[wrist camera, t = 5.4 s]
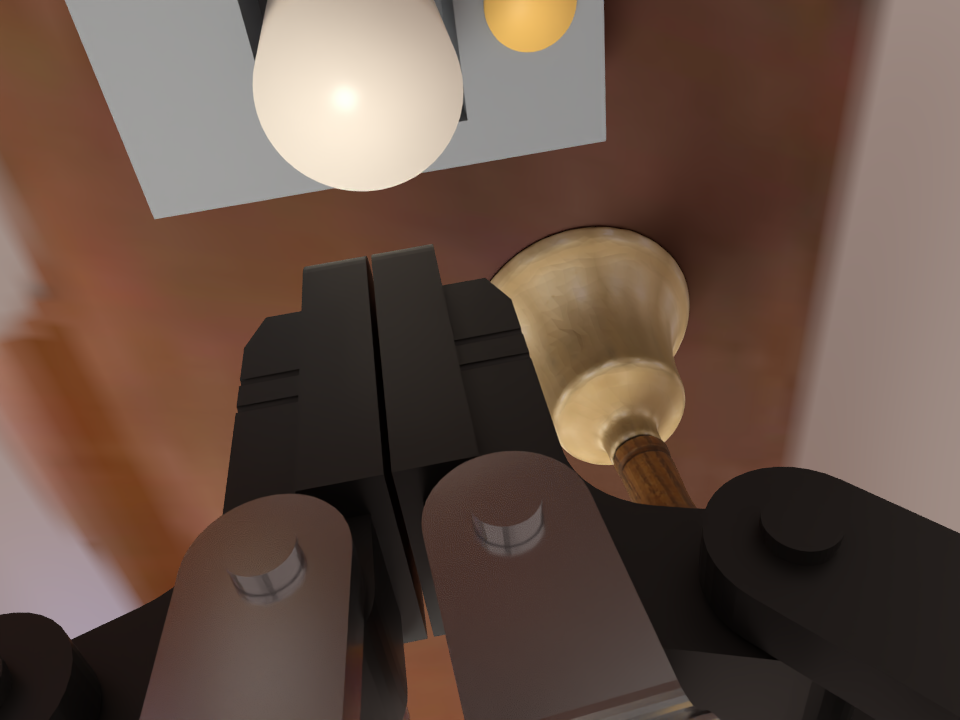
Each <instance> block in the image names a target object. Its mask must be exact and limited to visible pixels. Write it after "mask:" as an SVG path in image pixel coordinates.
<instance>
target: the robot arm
mask: <svg viewBox="0 0 960 720" xmlns="http://www.w3.org/2000/svg"><path fill="white" fill-rule="evenodd" d="M372 269H373V276H372V272H371V268H370V265H369V261H368V258H367V256H364V257H359V258H353V259H347V260H342V261H336V262H330V263H325V264H319V265H313V266H308V267H304V269H303V286H302V311H300V312H295V313H289V314H284V315H278V316H273V317H267V318H265V320H264V321H263V323H262V324H261V325H260V327H259V328H258V330H257V331H256V332H255V334H254V335H253V337H252V338H251V339H250V341H249V342H248V344H247V345H246V346H245V348H244V354H243V361H242V369H241V377H240V381H241V386H239V392H238V400H237V409H238V413H236V416H235V423H234V431H233V439H232V447H231V454H230V462H229V470H228V478H227V485H226V493H225V501H224V509H223V515H222V516H220V517H219V518H218V519H217V520H215V521H214V522H213V523H211V524H210V525H209V526H208V527H207V528H206V529H205V530H204V531H203V532H202V533H201V534H200V535H199V536H198V537H197V538H196V540H195V541H194V542H193V543H192V545H191V546H190V547H189V549H188V551H187V553H186V554H185V556H184V558H183V560H182V563H181V566H180V568H179V571H178V575H177V578H176V582H175V586H174V587H173V588H172V589H170V590H169V591H167V592H166V593H164V594H163V595H161V596H160V597H158V598H157V599H155V600H153V601H151V602H149V603H147V604H145V605H143V606H142V607H140V608H137V609H135V610H133V611H131V612H129V613H127V614H125V615H123V616H120V617H118V618H116V619H114V620H112V621H110V622H108V623H106V624H103V625H101V626H99V627H97V628H95V629H93V630H91V631H89V632H86V633H85V634H82V635H80V636H78V637H76V638H74V639H72V640H71V639H70V638H69V637H68V635H67V634H66V633H65V631H64V630H63V629H62V627H61V626H59V625H58V624H57V623H56V622H54V621H53V620H51V619H49V618H47V617H44V616H42V615H38V614H33V613H9V614H2V615H0V720H410V716H409V711H408V708H407V679H406V668H405V657H404V646H403V643H408V642H413V641H418V640H422V639H427V630H426V621H425V613H424V604H423V596H422V591H423V595H424V599H425V603H426V607H427V611H428V615H429V619H430V622H431V626H432V630H433V634H434V637H435V636H440V635H446V639H447V644H448V648H449V653H450V657H451V661H452V666H453V670H454V675H455V679H456V683H457V688H458V692H459V697H460V701H461V705H462V710H463V714H464V719H465V720H960V533H958V532H956V531H953V530H951V529H949V528H947V527H944V526H942V525H940V524H938V523H936V522H933V521H931V520H929V519H927V518H925V517H922V516H920V515H918V514H916V513H914V512H911V511H909V510H907V509H905V508H902V507H900V506H898V505H896V504H894V503H891V502H889V501H887V500H885V499H883V498H880V497H878V496H876V495H874V494H871V493H869V492H867V491H865V490H863V489H860V488H858V487H856V486H854V485H852V484H849V483H847V482H845V481H843V480H841V479H838V478H835V477H833V476H830V475H828V474H825V473H821V472H817V471H813V470H809V469H802V468H795V467H771V468H762V469H758V470H754V471H750V472H747V473H744V474H742V475H739V476H737V477H735V478H733V479H731V480H730V481H728V482H727V483H725V484H724V485H723V486H722V487H720V488H719V489H718V490H717V491H716V492H715V493H714V495H713V496H712V498H711V499H710V501H709V502H708V504H707V507H706V509H697V508H683V507H669V506H655V505H647V504H639V503H634V502H630V501H626V500H622V499H619V498H616V497H614V496H611V495H608V494H606V493H604V492H602V491H601V490H599V489H597V488H595V487H593V486H592V485H591V484H589V483H588V482H586V481H585V480H584V479H582V478H581V477H580V476H579V475H578V474H577V473H576V472H575V471H574V469H573V468H572V467H571V465H570V464H569V462H568V461H567V459H566V457H565V455H564V453H563V450H562V447H561V444H560V441H559V439H558V436H557V433H556V430H555V427H554V424H553V421H552V418H551V415H550V412H549V409H548V406H547V403H546V400H545V397H544V394H543V391H542V388H541V385H540V382H539V379H538V376H537V373H536V371H535V368H534V365H533V362H532V359H531V358H530V354H529V350H528V347H527V344H526V341H525V338H524V335H523V334H522V331H521V326H520V323H519V320H518V317H517V314H516V311H515V308H514V305H513V302H512V300H511V298H509V297H508V296H507V295H506V294H504V293H503V292H502V291H501V290H499V289H498V288H497V287H496V286H495V285H493V284H492V283H491V282H490V281H488V280H487V279H486V278H482V279H477V280H471V281H465V282H460V283H454V284H449V285H443V286H442V283H441V279H440V274H439V270H438V265H437V260H436V256H435V251H434V247H433V244H431V245H425V246H419V247H414V248H408V249H402V250H397V251H391V252H385V253H380V254H374V255H372ZM373 279H374V281H373Z"/></svg>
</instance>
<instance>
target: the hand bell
mask: <svg viewBox="0 0 960 720" xmlns="http://www.w3.org/2000/svg"><path fill="white" fill-rule="evenodd" d="M490 282H491V283H492V284H493V285H495V286H496V287H497V288H498V289H499V290H501V291H502V292H503V293H504V294H506V295H507V296H508V297H509V298H511V300H512V302H513V305H514V308H515V311H516V314H517V317H518V320H519V323H520V326H521V331H522V334H523V335H524V338H525V341H526V344H527V347H528V350H529V354H530V358H531V359H532V362H533V365H534V368H535V371H536V373H537V376H538V379H539V382H540V385H541V388H542V391H543V394H544V397H545V400H546V403H547V406H548V409H549V412H550V415H551V418H552V421H553V424H554V427H555V430H556V433H557V436H558V439H559V441H560V444H561V446H562V447H563V448H564V449H565V450H566V451H567V452H568V453H570V454H571V455H572V456H574V457H576V458H578V459H580V460H583V461H585V462H589V463H593V464H600V465H614V468H615V469H616V471H617V473H618V475H619V476H620V478H621V479H622V482H623V484H624V486H625V488H626V490H627V492H628V494H629V496H630V498H631V500H632V502H634V503H639V504H647V505H655V506H669V507H683V508H696V506H695V505H694V503H693V502H692V500H691V498H690V496H689V494H688V493H687V491H686V488H685V486H684V484H683V481H682V479H681V477H680V475H679V473H678V470H677V468H676V466H675V464H674V462H673V460H672V458H671V456H670V452H669V450H668V448H667V445H666V444H665V443H664V442H665V441H666V440H667V439H668V438H669V437H670V436H671V435H672V433H673V432H674V431H675V429H676V427H677V426H678V424H679V422H680V420H681V417H682V415H683V411H684V407H685V393H684V388H683V384H682V381H681V379H680V376H679V373H678V371H677V368H676V365H675V361H674V356H675V354H676V352H677V350H678V348H679V346H680V344H681V342H682V339H683V337H684V334H685V331H686V327H687V323H688V318H689V293H688V288H687V283H686V280H685V278H684V275H683V273H682V271H681V269H680V268H679V266H678V264H677V263H676V261H675V260H674V259H673V258H672V257H671V255H670V254H669V253H667V252H666V251H665V250H664V249H663V248H662V247H661V246H659V245H658V244H657V243H655V242H654V241H652V240H650V239H649V238H646V237H644V236H642V235H640V234H638V233H636V232H633V231H630V230H625V229H617V228H611V227H588V228H580V229H573V230H568V231H565V232H562V233H559V234H556V235H553V236H550V237H547V238H545V239H542V240H540V241H538V242H537V243H535V244H533V245H531V246H530V247H528V248H526V249H525V250H523V251H522V252H520V253H519V254H517V255H516V256H515V257H514V258H512V259H511V260H510V261H509V262H508V263H507V264H506V265H505V266H504V267H503V268H502V269H501V270H500V271H499V272H498V273H497V274H496V275H495V276H494V277H493V279H492V280H491V281H490Z"/></svg>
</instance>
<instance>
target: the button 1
mask: <svg viewBox="0 0 960 720" xmlns="http://www.w3.org/2000/svg"><path fill="white" fill-rule="evenodd" d="M252 86H253V98H254V103H255V108H256V112H257V115H258V118H259V121H260V123H261V126H262V128H263V130H264V132H265V134H266V136H267V138H268V139H269V141H270V142H271V143H272V145H273V146H274V148H275V149H276V150H277V151H278V153H279V154H280V155H281V156H282V157H283V158H284V159H285V160H286V161H287V162H288V163H289V164H290V165H292V166H293V167H294V168H295V169H297V170H298V171H299V172H301V173H302V174H304V175H305V176H307V177H309V178H311V179H313V180H315V181H317V182H319V183H322V184H325V185H327V186H330V187H334V188H338V189H342V190H350V191H373V190H381V189H385V188H389V187H393V186H396V185H398V184H401V183H404V182H406V181H408V180H410V179H412V178H414V177H415V176H417V175H418V174H420V173H421V172H423V171H424V170H426V169H427V168H428V167H429V166H430V165H431V164H432V163H433V162H435V160H436V159H437V158H438V157H439V156H440V155H441V154H442V152H443V151H444V150H445V148H446V147H447V145H448V144H449V142H450V140H451V138H452V136H453V134H454V132H455V130H456V128H457V125H458V122H459V119H460V115H461V110H462V105H463V78H462V73H461V68H460V63H459V60H458V57H457V54H456V52H455V49H454V47H453V44H452V42H451V40H450V37H449V35H448V33H447V30H446V28H445V25H444V23H443V21H442V18H441V16H440V13H439V11H438V9H437V6H436V4H435V2H434V0H267V4H266V9H265V14H264V19H263V24H262V29H261V34H260V39H259V44H258V49H257V54H256V59H255V65H254V70H253V85H252Z"/></svg>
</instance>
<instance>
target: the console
mask: <svg viewBox="0 0 960 720" xmlns="http://www.w3.org/2000/svg"><path fill="white" fill-rule="evenodd" d="M65 1H66V4H67V6H68V9H69V11H70V14H71V16H72V19H73V21H74V23H75V26H76V28H77V31H78V33H79V36H80V38H81V41H82V43H83V45H84V48H85V50H86V53H87V55H88V58H89V60H90V63H91V65H92V67H93V70H94V72H95V75H96V77H97V80H98V82H99V85H100V87H101V89H102V92H103V94H104V97H105V99H106V102H107V104H108V107H109V109H110V111H111V114H112V116H113V119H114V121H115V124H116V126H117V129H118V131H119V133H120V136H121V138H122V141H123V143H124V146H125V148H126V151H127V153H128V155H129V158H130V160H131V163H132V165H133V168H134V170H135V173H136V175H137V177H138V180H139V182H140V185H141V187H142V190H143V192H144V195H145V197H146V199H147V202H148V204H149V207H150V209H151V212H152V214H153V217H154V219H158V218H164V217H170V216H176V215H181V214H187V213H193V212H199V211H204V210H210V209H216V208H222V207H228V206H233V205H239V204H245V203H251V202H256V201H262V200H268V199H274V198H279V197H285V196H291V195H297V194H302V193H308V192H314V191H320V190H326V189H331V188H334V187H330V186H327V185H325V184H322V183H319V182H317V181H315V180H313V179H311V178H309V177H307V176H305V175H304V174H302V173H301V172H299V171H298V170H297V169H295V168H294V167H293V166H292V165H290V164H289V163H288V162H287V161H286V160H285V159H284V158H283V157H282V156H281V155H280V154H279V153H278V151H277V150H276V149H275V148H274V146H273V145H272V143H271V142H270V141H269V139H268V138H267V136H266V134H265V132H264V130H263V128H262V126H261V123H260V121H259V118H258V115H257V112H256V108H255V103H254V98H253V86H252V85H253V70H254V65H255V59H256V54H257V49H258V44H259V39H260V34H261V29H262V24H263V19H264V14H265V9H266V4H267V0H65ZM434 2H435V4H436V6H437V9H438V11H439V13H440V16H441V18H442V21H443V23H444V25H445V28H446V30H447V33H448V35H449V37H450V40H451V42H452V44H453V47H454V49H455V52H456V54H457V57H458V60H459V63H460V68H461V73H462V78H463V105H462V110H461V115H460V119H459V122H458V125H457V128H456V130H455V132H454V134H453V136H452V138H451V140H450V142H449V144H448V145H447V147H446V148H445V150H444V151H443V152H442V154H441V155H440V156H439V157H438V158H437V159H436V160H435V162H433V163H432V164H431V165H430V166H429V167H428V168H427V169H426V170H424V171H423V172H421V173H424V172H429V171H435V170H441V169H447V168H452V167H458V166H464V165H470V164H475V163H481V162H487V161H493V160H499V159H504V158H510V157H516V156H522V155H527V154H533V153H539V152H545V151H550V150H556V149H562V148H568V147H574V146H579V145H585V144H591V143H597V142H602V141H606V109H605V48H604V0H434Z"/></svg>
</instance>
